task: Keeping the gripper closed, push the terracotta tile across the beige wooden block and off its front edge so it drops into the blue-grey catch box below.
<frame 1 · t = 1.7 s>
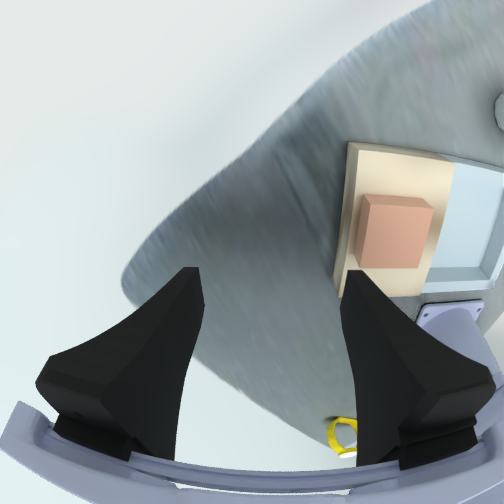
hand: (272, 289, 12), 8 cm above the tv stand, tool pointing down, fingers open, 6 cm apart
milkshake: (503, 115, 13), on the tv stand
tile: (388, 226, 16), point 2 cm above the tv stand, touching beige wooden block
catch box: (466, 222, 18), on the tv stand
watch: (344, 418, 34), on the tv stand
beige wooden block: (385, 217, 18), on the tv stand
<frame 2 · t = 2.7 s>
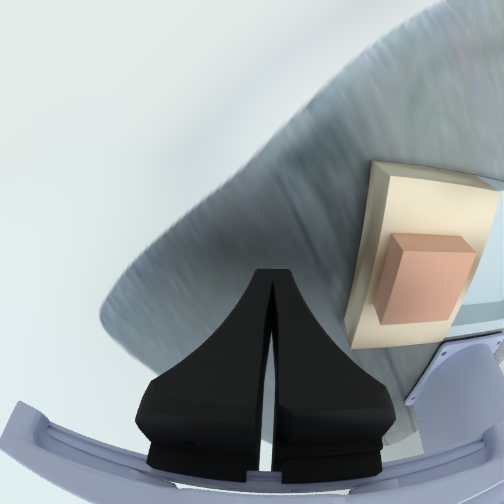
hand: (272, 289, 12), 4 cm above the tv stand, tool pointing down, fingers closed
tile: (418, 271, 12), point 2 cm above the tv stand, touching beige wooden block
catch box: (497, 254, 14), on the tv stand
beige wooden block: (411, 252, 15), on the tv stand
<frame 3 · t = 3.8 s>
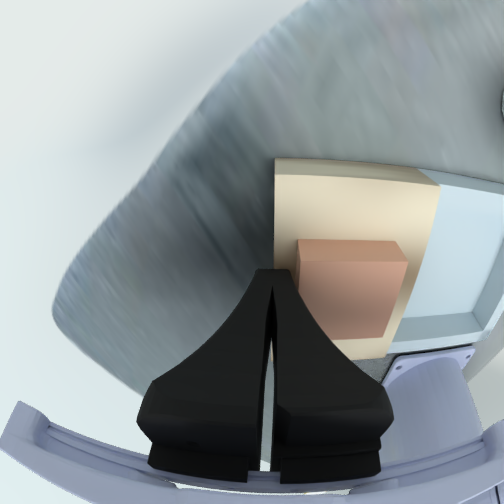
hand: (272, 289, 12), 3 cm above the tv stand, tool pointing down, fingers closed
tile: (341, 281, 12), point 2 cm above the tv stand, touching gripper, beige wooden block
catch box: (456, 260, 14), on the tv stand
beige wooden block: (338, 259, 14), on the tv stand
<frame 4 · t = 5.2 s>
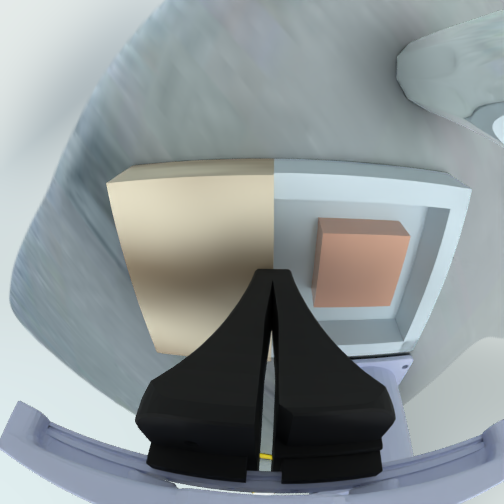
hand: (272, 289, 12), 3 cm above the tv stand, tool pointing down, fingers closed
milkshake: (419, 81, 9), on the tv stand
tile: (361, 273, 12), point 2 cm above the tv stand, tilted 180°, touching catch box
catch box: (356, 259, 14), on the tv stand
beige wooden block: (208, 257, 15), on the tv stand
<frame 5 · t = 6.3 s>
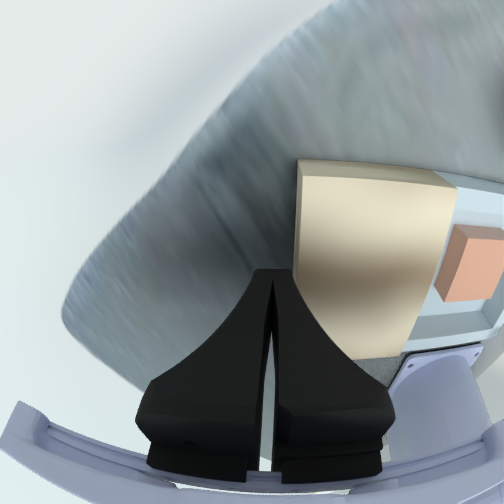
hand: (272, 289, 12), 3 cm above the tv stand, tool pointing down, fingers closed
tile: (481, 272, 12), point 2 cm above the tv stand, tilted 180°, touching catch box
catch box: (468, 260, 14), on the tv stand
beige wooden block: (356, 259, 14), on the tv stand
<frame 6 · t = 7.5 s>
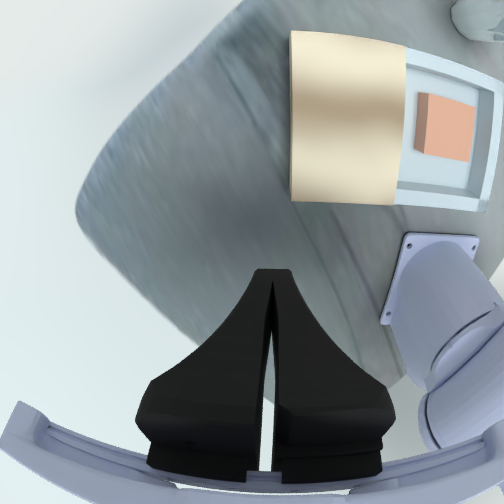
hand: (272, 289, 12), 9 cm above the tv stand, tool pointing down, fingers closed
milkshake: (463, 24, 11), on the tv stand
tile: (451, 129, 14), point 2 cm above the tv stand, tilted 180°, touching catch box
catch box: (440, 131, 15), on the tv stand
beige wooden block: (341, 115, 16), on the tv stand
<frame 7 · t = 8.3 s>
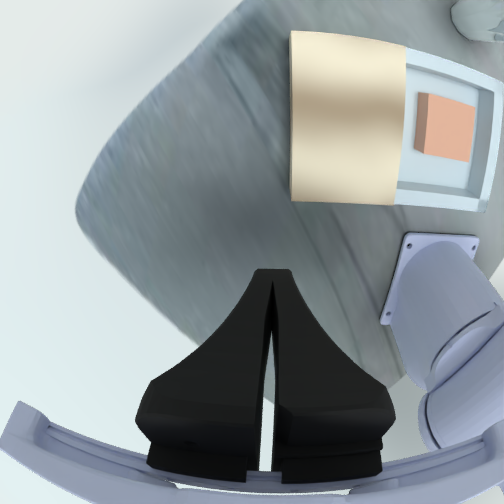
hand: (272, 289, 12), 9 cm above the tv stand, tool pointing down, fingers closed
milkshake: (463, 24, 11), on the tv stand
tile: (451, 129, 14), point 2 cm above the tv stand, tilted 180°, touching catch box
catch box: (440, 131, 15), on the tv stand
beige wooden block: (341, 115, 16), on the tv stand
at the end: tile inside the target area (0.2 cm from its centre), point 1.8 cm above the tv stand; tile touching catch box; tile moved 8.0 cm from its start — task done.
